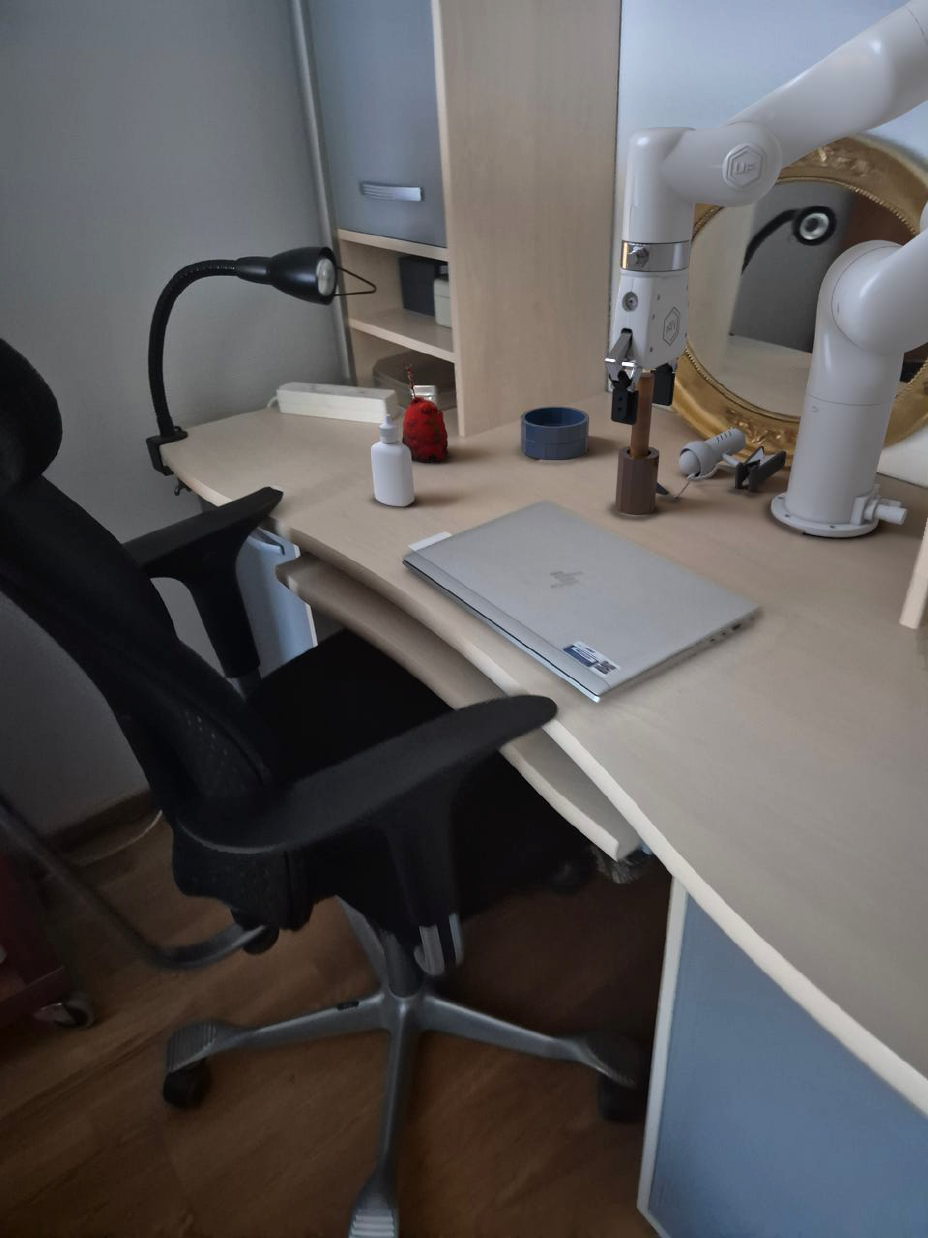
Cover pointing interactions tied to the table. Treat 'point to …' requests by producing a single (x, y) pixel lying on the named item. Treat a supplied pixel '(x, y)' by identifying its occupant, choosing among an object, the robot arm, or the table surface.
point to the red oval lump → (424, 428)
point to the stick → (643, 416)
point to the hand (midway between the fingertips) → (642, 412)
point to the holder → (636, 482)
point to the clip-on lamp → (727, 460)
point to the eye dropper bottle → (392, 467)
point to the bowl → (554, 433)
